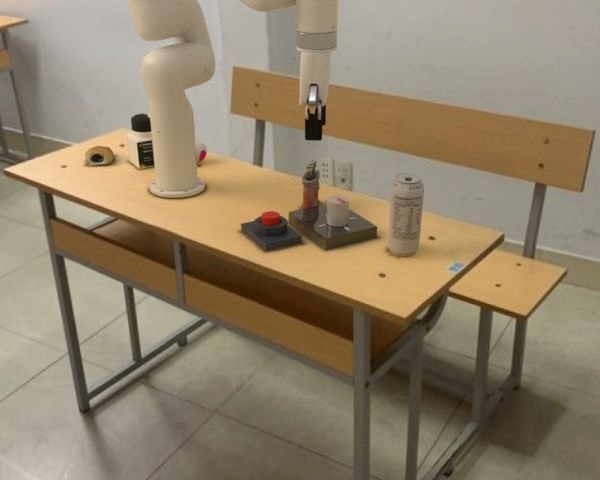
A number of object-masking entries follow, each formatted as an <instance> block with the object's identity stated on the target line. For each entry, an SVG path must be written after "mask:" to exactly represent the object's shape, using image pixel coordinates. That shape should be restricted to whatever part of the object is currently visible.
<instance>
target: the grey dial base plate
mask: <svg viewBox="0 0 600 480" xmlns="http://www.w3.org/2000/svg"><path fill="white" fill-rule="evenodd" d="M326 219H327V203H324V204H319V206H315V207H310V208H305V209H302V208H301V209H297V210H291V211H288V224H290V225H291V226H293V227H294V228H295V229H297V230H298V231H299V232H300V233H302V234H303V235H305V236H306V237H307V238H309V240H312V241H313V242H314V243H316V244H317V245H318V246H319V247H321V248H322V249H324V250H325V251H326V250H331V249H335V248H340V247H344V246H346V245H352V244H357V243H360V242H364V241H367V240H372V239H377V237H378V226H377V225H376V224H374V223H373V222H371V221H369V220H368V219H367V218H365V217H363V216H362V215H360V214H358V213H357V212H355V211H354V210H352V209H350V208H349V216H348V224H347V225H345V226H341V227H335V226H330V225H328V224H327V222H326Z"/></svg>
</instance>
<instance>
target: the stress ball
mask: <svg viewBox="0 0 600 480" xmlns="http://www.w3.org/2000/svg"><path fill="white" fill-rule="evenodd" d="M195 144H196V160H197V166H200V167H201V165H200V164H198V163H201V162H203V161H204V160H205V158H206V157H207V155H208V149H207V146H206V144H205V143H204V142H203V141H201V140H199V139H195Z"/></svg>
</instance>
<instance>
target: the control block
mask: <svg viewBox="0 0 600 480" xmlns="http://www.w3.org/2000/svg"><path fill="white" fill-rule="evenodd" d="M240 232H242V233H243V234H244V235H245V236H246V237H248V238H249V239H250V240H252V242H254V243H255V244H256V245H257V246H259V247H260V248H261V249H262V250H263V251H264V252H270V251H273V250H278V249H282V248H287V247H291V246H295V245H299V244H302V242H303V235H302V234H300V233H299V232H298V231H296V230H295V229H294V228H292V227H291V226H289V225H288V219H287V218H286V217H284V216H281V215H280V224H278V225H274V226H267V225H263V224H262V215H260V216H258V217H257V218H254V220H251V221H247V222H242V223H240Z"/></svg>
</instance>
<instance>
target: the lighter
mask: <svg viewBox="0 0 600 480" xmlns="http://www.w3.org/2000/svg"><path fill="white" fill-rule="evenodd" d="M305 167H306V168H305V172H304V173H303V175H302V178H301V184H302V205H301V209H305V208H310V207H315V206H319V205H320V199H319V191H320V182H319V180H320V172H321V171H320V170H319V169H316V168H317V161H316V160H311V161H310V162H309V164H306V166H305Z"/></svg>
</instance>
